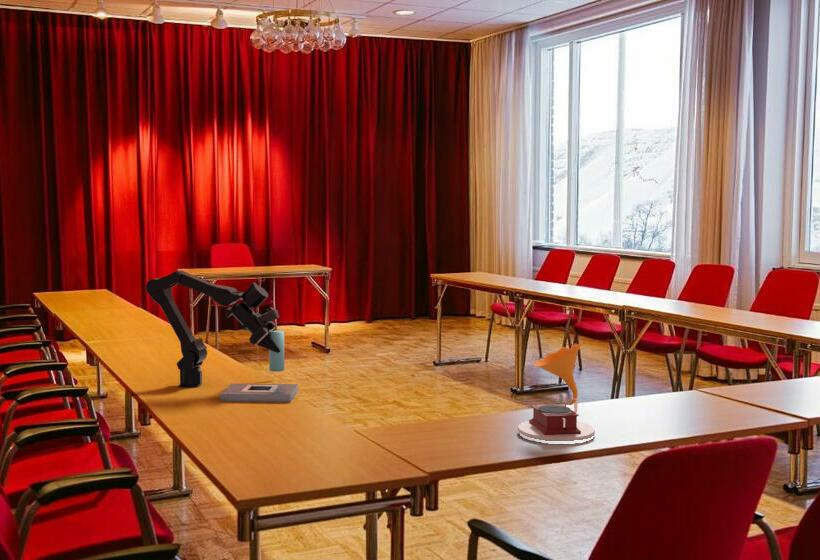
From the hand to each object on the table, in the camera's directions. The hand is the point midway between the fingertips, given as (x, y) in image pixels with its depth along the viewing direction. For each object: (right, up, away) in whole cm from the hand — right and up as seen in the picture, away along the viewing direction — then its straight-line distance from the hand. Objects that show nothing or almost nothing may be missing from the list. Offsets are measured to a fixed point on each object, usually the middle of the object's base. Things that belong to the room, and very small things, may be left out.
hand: (280, 350), depth 302 cm
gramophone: (+83, -18, -57) cm, 102 cm away
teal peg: (-1, -7, +1) cm, 7 cm away
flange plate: (-5, -14, -12) cm, 19 cm away
